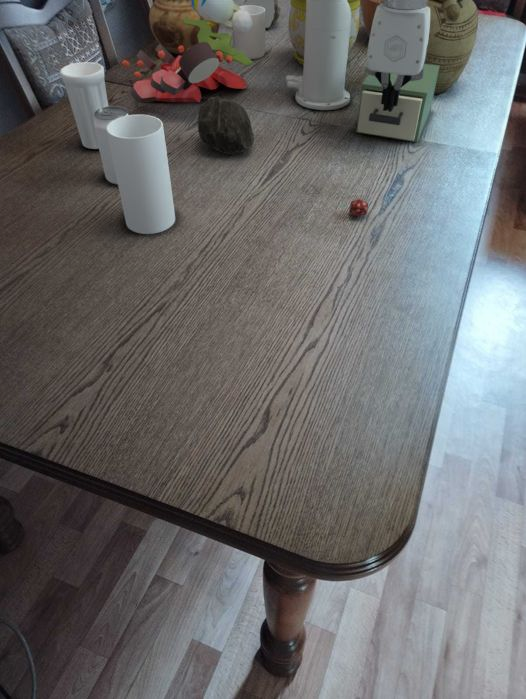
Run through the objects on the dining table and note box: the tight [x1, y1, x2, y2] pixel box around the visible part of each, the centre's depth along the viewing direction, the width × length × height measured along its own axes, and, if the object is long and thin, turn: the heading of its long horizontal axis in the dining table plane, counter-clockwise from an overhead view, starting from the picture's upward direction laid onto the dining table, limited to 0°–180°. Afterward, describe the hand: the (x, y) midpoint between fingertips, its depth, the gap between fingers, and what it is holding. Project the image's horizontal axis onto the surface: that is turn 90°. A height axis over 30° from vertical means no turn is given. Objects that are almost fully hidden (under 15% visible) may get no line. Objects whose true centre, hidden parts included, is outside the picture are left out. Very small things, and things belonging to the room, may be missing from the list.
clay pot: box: [148, 0, 221, 56], centre depth 146 cm, size 19×19×20 cm
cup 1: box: [59, 61, 109, 150], centre depth 107 cm, size 8×8×14 cm
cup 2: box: [107, 114, 176, 235], centre depth 86 cm, size 8×8×16 cm
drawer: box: [356, 90, 422, 142], centre depth 113 cm, size 19×12×8 cm, turn 159°
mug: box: [232, 5, 266, 60], centre depth 146 cm, size 9×12×11 cm
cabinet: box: [355, 64, 440, 143], centre depth 115 cm, size 16×13×10 cm
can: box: [94, 105, 129, 186], centre depth 98 cm, size 6×6×12 cm
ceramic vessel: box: [424, 0, 479, 95], centre depth 123 cm, size 19×21×30 cm
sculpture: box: [241, 0, 281, 30], centre depth 168 cm, size 11×18×12 cm
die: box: [348, 198, 369, 218], centre depth 92 cm, size 3×3×3 cm
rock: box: [197, 96, 255, 155], centre depth 108 cm, size 10×11×10 cm
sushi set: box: [121, 0, 254, 104], centre depth 124 cm, size 29×30×24 cm
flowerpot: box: [288, 0, 361, 66], centre depth 140 cm, size 18×18×16 cm
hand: (388, 108), depth 105 cm, fingers closed
